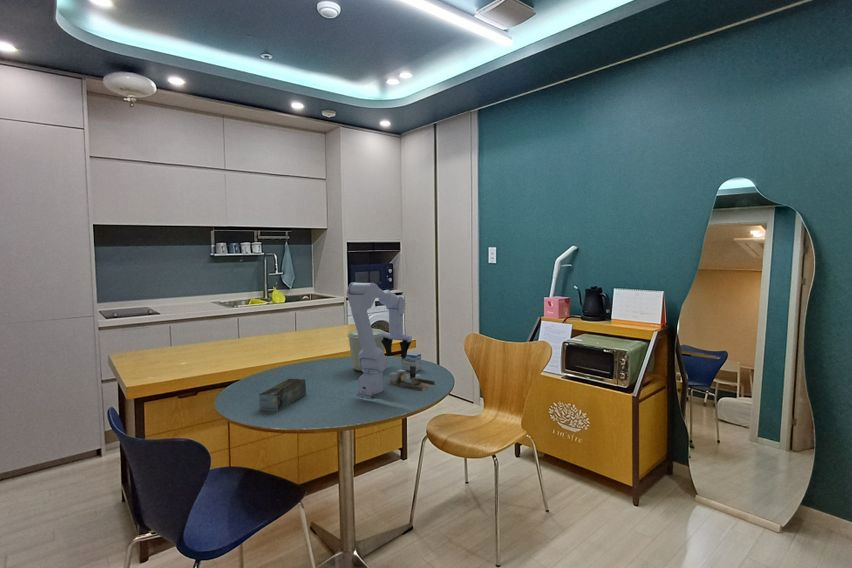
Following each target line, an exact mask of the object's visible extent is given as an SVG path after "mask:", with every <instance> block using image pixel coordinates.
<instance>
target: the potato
mask: <svg viewBox="0 0 852 568" xmlns="http://www.w3.org/2000/svg"><path fill="white" fill-rule="evenodd" d="M408 376H410V373H409V374H407V373H406V374H403V375H401V383H404V384H405V378H406V377H408Z"/></svg>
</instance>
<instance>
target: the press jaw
mask: <svg viewBox="0 0 852 568" xmlns="http://www.w3.org/2000/svg"><path fill="white" fill-rule="evenodd" d="M409 375H410V376H408V377H406V378H405V384H409V385H415V384H417V383H420V382H421V379H422V374H419V373H417V372H416V366H410V371H409Z"/></svg>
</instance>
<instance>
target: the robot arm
mask: <svg viewBox="0 0 852 568" xmlns="http://www.w3.org/2000/svg"><path fill="white" fill-rule="evenodd" d="M346 296H347V300H348V304H349V307H350V311H351V314H352V319H353V321H354V325H355V330H357V333H358V336H359V339H360V343H361V346H362V350H361V351H360V352H359V354H358V358H359V367H360V368H361V369H362V371H361V372H363V373H362V374H361V375H360V376H359V377H358V379H357V390H358V394H356V397H361V398H364V399H368V400H374V399H376V397H375V396H373V395H375V394H379V393H382V392H383V391H384V384H383V383H384V381H383V380H384V377H383V376H384V375H383V373H384V372H385V370H386V369H387V367H388V358H387V357H390V356H392V346H393V341H394V340H395V341H399V345H400V351H401V353H400V354H401V360H402V359H404V358H406V355H407V352H408V350H409V347H410V346H411V344H412V341H413V338H412V337H413V336H409V335H406V334H404V324H403V323H404V322H403V321H404V319H403V317H404V316H403V315H404V313H405V307H406V300H405V299H404V297H403V296H398V295H396V293H393V292H391V290H390V289H385V290H383V289H381V288H380V287H379V286H378V284H377V283H374V282H353V281H352V282H350V284H349V285H348V287H347V291H346ZM376 299H378V302H379V303H380V304H382V305H383V306H385V308H386V309H387V310H388V330H389V331H388V332H386V333H383V334H381V338H382V339H383V340H381V342H382V344H383V345H384V351H385V352H384V353H383V351H382V350H381V349H380V348H378V347H377V346H376V343H375V339H374V335H373V331H372V328H373V327H372V325H371V321H370V317H369V313H368V310H369V309H371V308H372V307H373V304H374V303H375V302H376V301H375V300H376ZM385 354H386V355H385ZM386 356H387V357H386Z"/></svg>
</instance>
